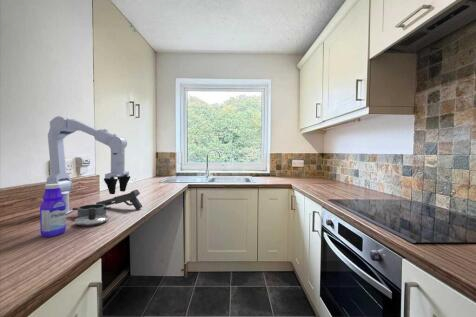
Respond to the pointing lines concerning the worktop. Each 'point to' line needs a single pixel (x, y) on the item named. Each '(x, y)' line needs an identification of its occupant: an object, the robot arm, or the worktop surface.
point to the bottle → (52, 211)
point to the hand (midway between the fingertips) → (117, 192)
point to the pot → (83, 210)
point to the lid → (91, 218)
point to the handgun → (124, 200)
